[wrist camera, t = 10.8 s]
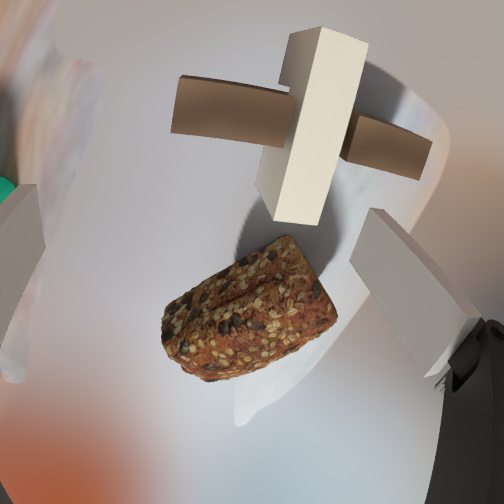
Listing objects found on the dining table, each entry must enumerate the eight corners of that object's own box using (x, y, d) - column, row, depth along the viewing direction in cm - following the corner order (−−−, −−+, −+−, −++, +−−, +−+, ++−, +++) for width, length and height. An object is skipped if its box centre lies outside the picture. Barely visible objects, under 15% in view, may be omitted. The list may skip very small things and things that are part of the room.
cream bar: (289, 33, 25) (321, 26, 18) (328, 45, 26) (369, 43, 19) (255, 184, 33) (273, 220, 26) (291, 189, 34) (317, 225, 27)
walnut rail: (182, 74, 25) (179, 77, 19) (387, 121, 31) (432, 141, 24) (175, 115, 27) (170, 132, 21) (377, 154, 33) (419, 180, 27)
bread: (288, 224, 36) (318, 278, 28) (322, 282, 42) (351, 337, 34) (158, 301, 39) (155, 364, 31) (206, 344, 45) (213, 403, 37)
